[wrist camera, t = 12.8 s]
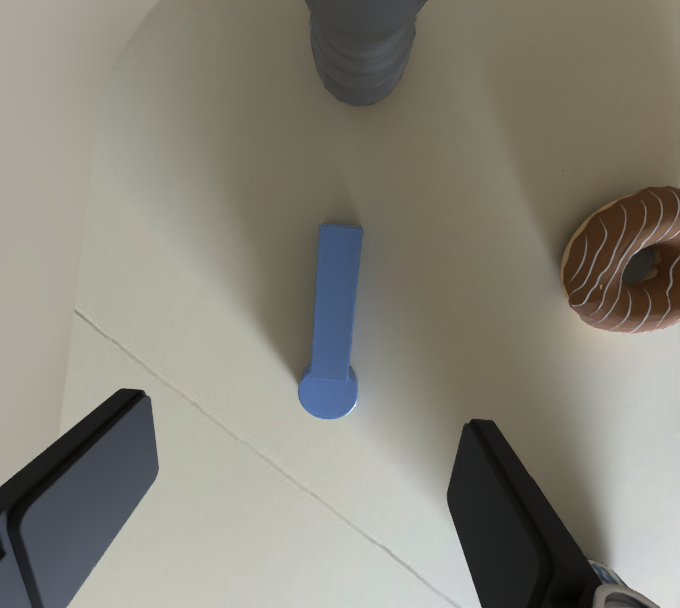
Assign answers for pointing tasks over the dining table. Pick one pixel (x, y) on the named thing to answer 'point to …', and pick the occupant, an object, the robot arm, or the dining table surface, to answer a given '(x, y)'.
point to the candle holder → (362, 45)
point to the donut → (612, 257)
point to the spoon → (333, 324)
